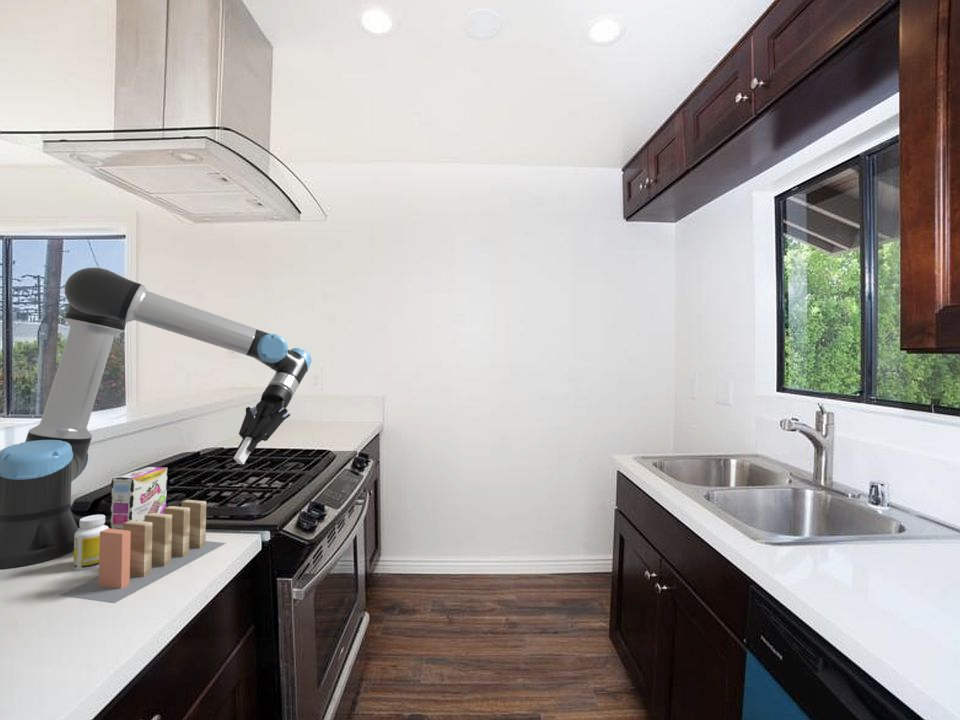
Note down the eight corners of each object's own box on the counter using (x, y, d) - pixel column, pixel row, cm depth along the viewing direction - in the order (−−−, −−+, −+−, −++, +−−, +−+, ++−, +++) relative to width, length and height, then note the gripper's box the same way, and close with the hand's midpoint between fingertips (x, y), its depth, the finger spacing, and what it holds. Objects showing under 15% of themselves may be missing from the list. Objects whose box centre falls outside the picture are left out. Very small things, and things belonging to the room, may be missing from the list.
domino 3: (150, 560, 93) (151, 512, 93) (171, 563, 92) (172, 514, 92) (143, 564, 91) (144, 515, 91) (164, 566, 90) (165, 517, 90)
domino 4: (169, 551, 97) (170, 505, 97) (189, 553, 96) (190, 507, 96) (162, 554, 96) (163, 508, 96) (182, 557, 95) (183, 510, 95)
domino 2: (130, 570, 88) (131, 520, 88) (151, 573, 87) (152, 522, 88) (122, 574, 87) (123, 523, 87) (143, 576, 86) (145, 525, 86)
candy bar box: (131, 553, 97) (132, 478, 97) (108, 553, 97) (109, 477, 97) (167, 533, 108) (168, 466, 108) (146, 533, 108) (148, 465, 108)
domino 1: (107, 581, 84) (108, 528, 84) (129, 584, 83) (130, 530, 83) (98, 585, 82) (99, 531, 82) (121, 588, 81) (122, 534, 82)
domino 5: (186, 543, 102) (187, 499, 102) (205, 545, 101) (206, 501, 101) (180, 546, 100) (181, 501, 100) (199, 548, 99) (200, 503, 99)
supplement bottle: (115, 560, 93) (116, 513, 93) (90, 572, 88) (91, 523, 88) (92, 558, 94) (93, 512, 94) (65, 570, 88) (66, 521, 88)
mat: (181, 539, 104) (181, 538, 104) (226, 544, 102) (226, 543, 102) (58, 596, 79) (58, 595, 79) (114, 604, 77) (114, 602, 77)
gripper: (305, 400, 132) (267, 470, 115) (265, 399, 134) (223, 467, 118) (294, 383, 127) (254, 454, 110) (254, 382, 129) (208, 451, 112)
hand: (238, 461), depth 114 cm, fingers closed
